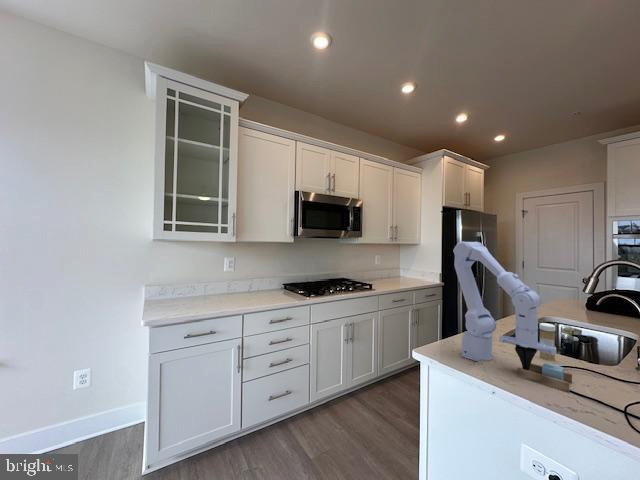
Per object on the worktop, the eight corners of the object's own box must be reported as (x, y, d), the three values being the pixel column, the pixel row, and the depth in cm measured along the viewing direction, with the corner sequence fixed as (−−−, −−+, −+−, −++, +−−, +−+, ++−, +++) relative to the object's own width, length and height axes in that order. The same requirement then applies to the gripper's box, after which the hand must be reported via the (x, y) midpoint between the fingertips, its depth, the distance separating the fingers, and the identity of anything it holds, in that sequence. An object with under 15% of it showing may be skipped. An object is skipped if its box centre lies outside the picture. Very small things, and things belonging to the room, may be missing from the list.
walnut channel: (517, 379, 85) (517, 368, 85) (523, 371, 91) (523, 360, 91) (568, 395, 77) (568, 383, 77) (571, 385, 82) (572, 373, 82)
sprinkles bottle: (557, 361, 99) (557, 324, 99) (552, 364, 96) (552, 327, 96) (541, 356, 103) (541, 321, 103) (537, 359, 100) (537, 323, 100)
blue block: (541, 381, 82) (542, 366, 82) (544, 376, 86) (544, 362, 86) (561, 387, 79) (561, 372, 79) (563, 382, 82) (563, 367, 82)
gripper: (496, 325, 90) (496, 365, 90) (554, 336, 79) (553, 383, 79) (502, 321, 95) (502, 359, 95) (557, 331, 84) (557, 375, 84)
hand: (526, 370), depth 87 cm, fingers closed
